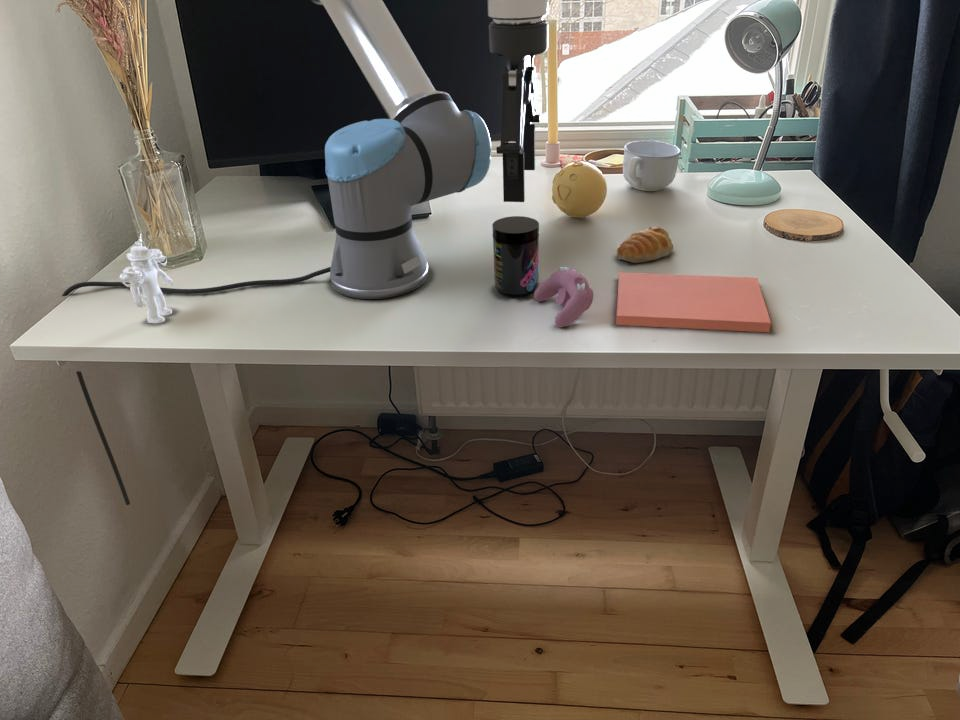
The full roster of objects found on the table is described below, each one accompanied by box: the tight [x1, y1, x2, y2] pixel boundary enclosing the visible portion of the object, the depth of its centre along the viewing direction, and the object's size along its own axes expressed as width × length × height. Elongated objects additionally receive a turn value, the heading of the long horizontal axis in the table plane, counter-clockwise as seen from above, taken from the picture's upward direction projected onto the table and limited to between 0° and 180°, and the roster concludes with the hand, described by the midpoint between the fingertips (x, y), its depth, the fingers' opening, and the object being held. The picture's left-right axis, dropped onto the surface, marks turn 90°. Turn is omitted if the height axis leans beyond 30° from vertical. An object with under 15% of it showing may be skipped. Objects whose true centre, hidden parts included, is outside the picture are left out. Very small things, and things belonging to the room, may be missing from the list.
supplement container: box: [491, 215, 540, 299], centre depth 111 cm, size 7×7×10 cm
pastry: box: [616, 226, 675, 264], centre depth 122 cm, size 9×7×4 cm
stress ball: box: [551, 160, 608, 218], centre depth 137 cm, size 10×10×10 cm
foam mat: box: [615, 272, 772, 333], centre depth 107 cm, size 20×14×2 cm
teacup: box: [622, 140, 681, 192], centre depth 149 cm, size 14×11×8 cm
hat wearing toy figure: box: [119, 233, 174, 324], centre depth 108 cm, size 9×4×12 cm, turn 170°
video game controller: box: [533, 266, 595, 328], centre depth 106 cm, size 10×5×7 cm, turn 17°
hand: (520, 184), depth 106 cm, fingers open, 13 cm apart
